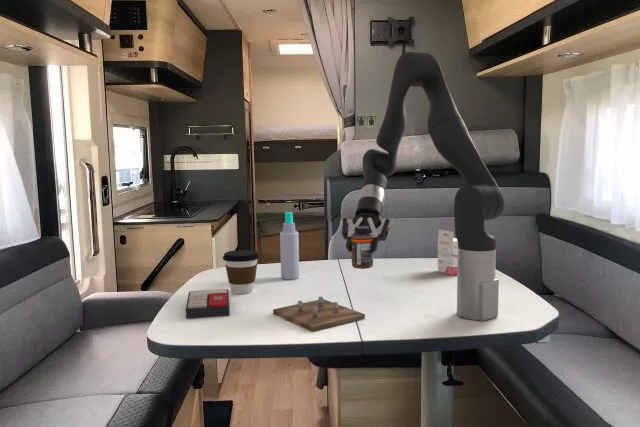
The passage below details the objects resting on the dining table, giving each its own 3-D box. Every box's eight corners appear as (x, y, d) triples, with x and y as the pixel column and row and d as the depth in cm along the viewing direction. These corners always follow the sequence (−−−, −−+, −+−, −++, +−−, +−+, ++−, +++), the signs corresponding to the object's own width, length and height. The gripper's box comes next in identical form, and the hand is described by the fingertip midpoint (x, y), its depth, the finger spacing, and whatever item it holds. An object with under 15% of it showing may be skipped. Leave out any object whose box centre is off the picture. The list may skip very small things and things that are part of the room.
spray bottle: (292, 280, 177) (291, 213, 175) (277, 278, 180) (275, 213, 178) (302, 277, 182) (301, 211, 180) (287, 275, 185) (286, 211, 183)
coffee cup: (219, 290, 167) (217, 251, 165) (252, 285, 172) (251, 248, 170) (230, 298, 157) (229, 257, 156) (265, 293, 162) (264, 253, 160)
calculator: (185, 306, 138) (188, 288, 153) (186, 322, 139) (189, 303, 153) (229, 303, 140) (228, 286, 155) (229, 319, 141) (228, 301, 155)
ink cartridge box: (464, 274, 183) (465, 231, 181) (452, 276, 181) (453, 232, 179) (448, 269, 191) (448, 227, 189) (436, 271, 188) (437, 229, 187)
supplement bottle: (350, 265, 154) (349, 225, 153) (371, 264, 155) (370, 225, 153) (353, 269, 148) (352, 228, 147) (374, 268, 149) (374, 227, 148)
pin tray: (364, 318, 136) (364, 304, 136) (312, 331, 127) (312, 316, 127) (322, 303, 151) (322, 290, 151) (273, 313, 142) (272, 299, 141)
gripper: (344, 195, 159) (332, 242, 149) (393, 195, 154) (384, 243, 144) (349, 211, 164) (338, 257, 155) (396, 212, 160) (388, 259, 150)
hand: (360, 250), depth 149 cm, fingers closed on supplement bottle, 6 cm apart
